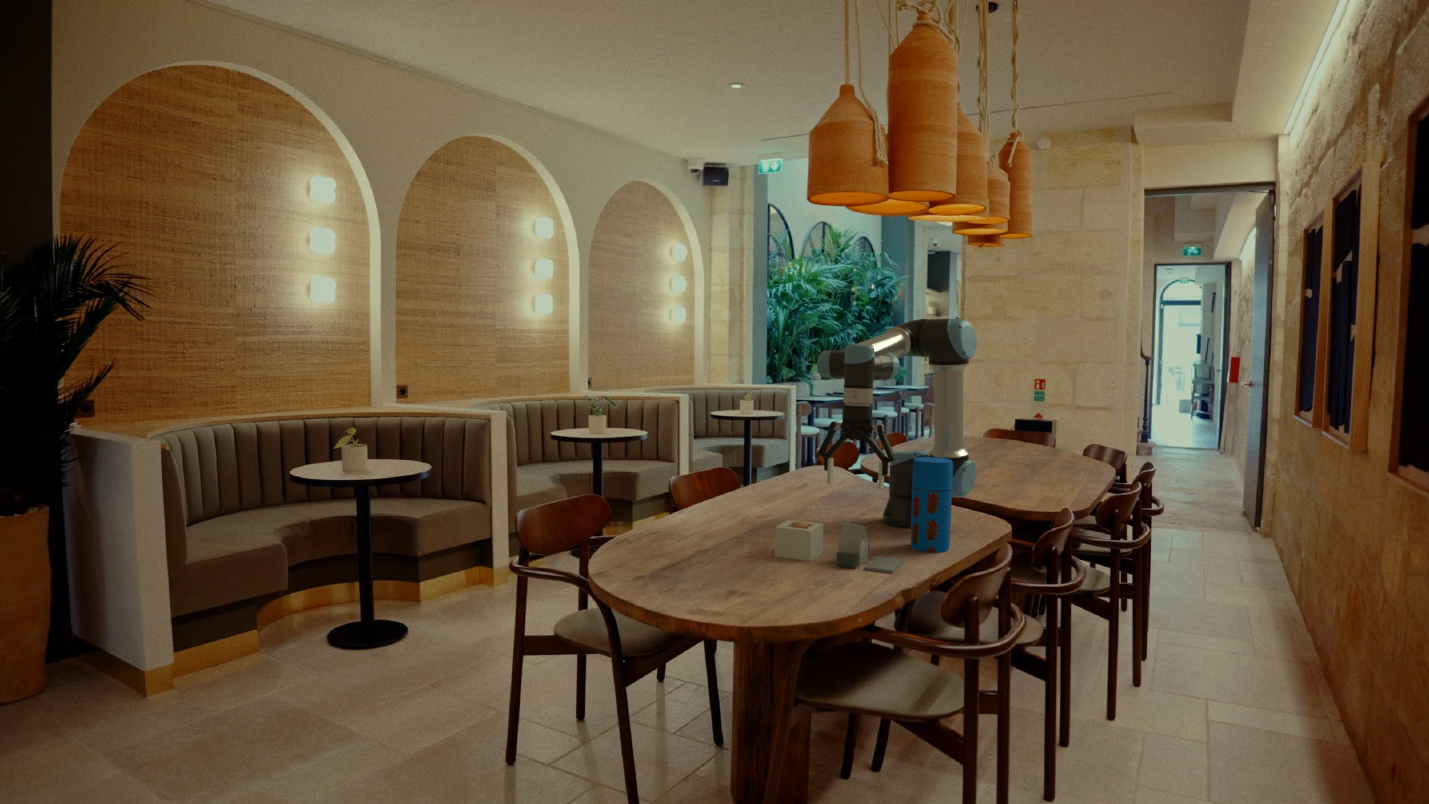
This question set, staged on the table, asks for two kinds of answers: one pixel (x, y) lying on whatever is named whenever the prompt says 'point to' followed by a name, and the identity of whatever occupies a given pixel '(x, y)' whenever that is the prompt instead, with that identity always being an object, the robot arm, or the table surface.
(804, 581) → the table surface
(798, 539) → the housing
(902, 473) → the robot arm
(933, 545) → the thermos
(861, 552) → the tea bag
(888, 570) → the mat
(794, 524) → the plunger
